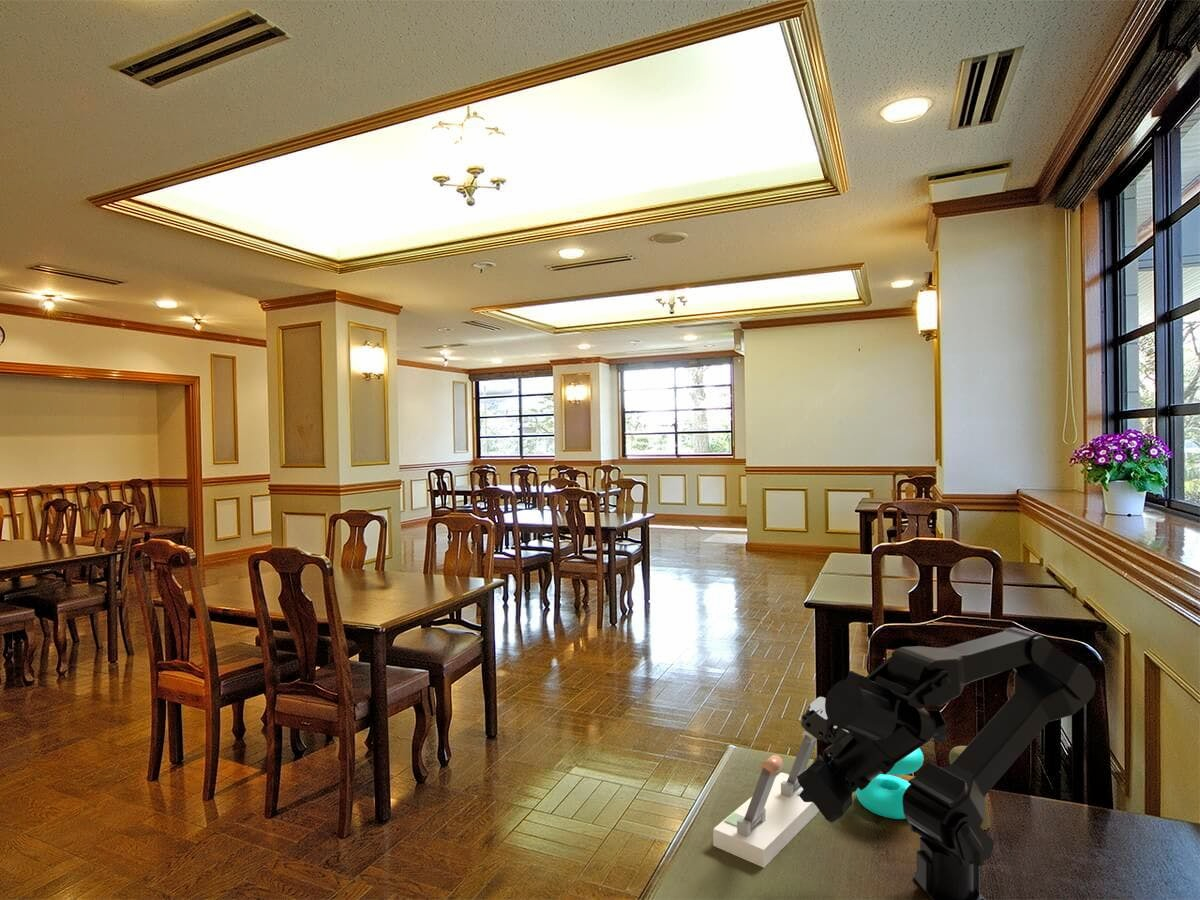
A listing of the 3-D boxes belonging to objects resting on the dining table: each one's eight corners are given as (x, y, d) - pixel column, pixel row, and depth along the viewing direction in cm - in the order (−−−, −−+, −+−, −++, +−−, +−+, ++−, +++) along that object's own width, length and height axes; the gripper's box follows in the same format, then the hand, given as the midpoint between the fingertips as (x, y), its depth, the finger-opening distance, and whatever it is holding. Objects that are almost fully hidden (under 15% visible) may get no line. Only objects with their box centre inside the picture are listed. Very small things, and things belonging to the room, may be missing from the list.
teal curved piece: (918, 734, 114) (928, 761, 104) (918, 794, 114) (928, 827, 104) (854, 727, 117) (857, 753, 107) (854, 786, 117) (858, 817, 107)
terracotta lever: (760, 824, 101) (785, 760, 98) (750, 833, 99) (775, 768, 96) (749, 815, 102) (772, 751, 99) (739, 824, 100) (763, 759, 97)
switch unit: (827, 802, 111) (827, 776, 111) (763, 867, 95) (763, 836, 94) (781, 786, 116) (781, 761, 116) (713, 845, 100) (713, 816, 100)
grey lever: (801, 787, 112) (824, 728, 109) (793, 794, 109) (816, 734, 107) (790, 779, 113) (812, 721, 110) (782, 786, 110) (804, 727, 108)
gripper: (862, 665, 98) (790, 723, 105) (812, 707, 84) (732, 771, 91) (922, 734, 93) (842, 790, 101) (880, 792, 79) (789, 852, 86)
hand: (802, 797), depth 95 cm, fingers closed
